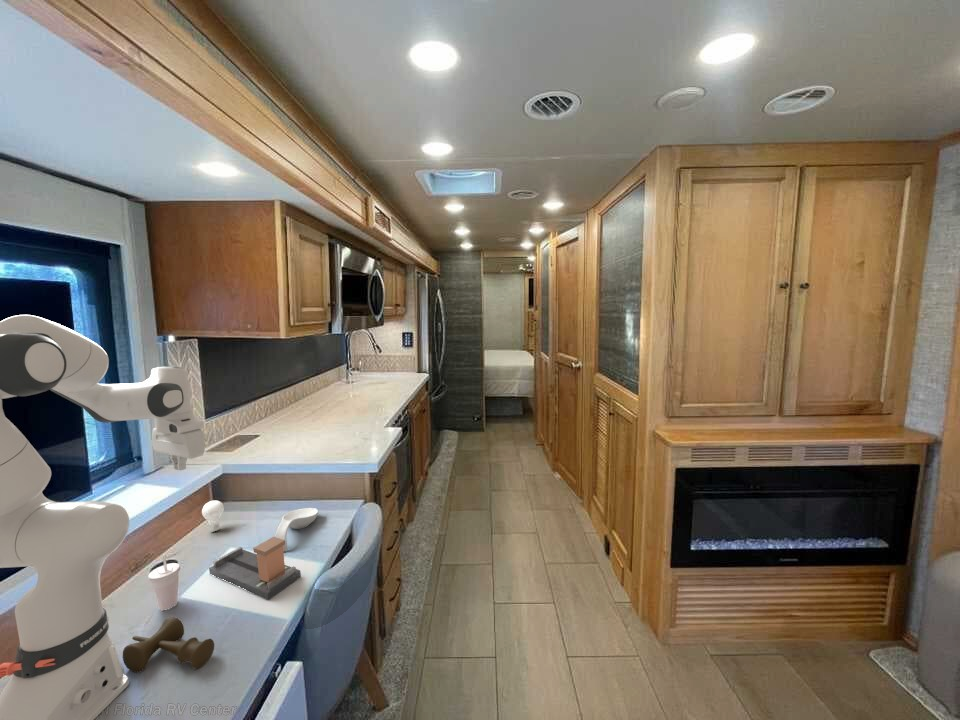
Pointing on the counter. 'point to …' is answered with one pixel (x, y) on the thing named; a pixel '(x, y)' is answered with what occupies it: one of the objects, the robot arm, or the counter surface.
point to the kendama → (167, 647)
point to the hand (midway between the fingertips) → (180, 469)
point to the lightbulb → (213, 514)
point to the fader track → (251, 573)
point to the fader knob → (270, 559)
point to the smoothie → (165, 584)
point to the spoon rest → (295, 522)
